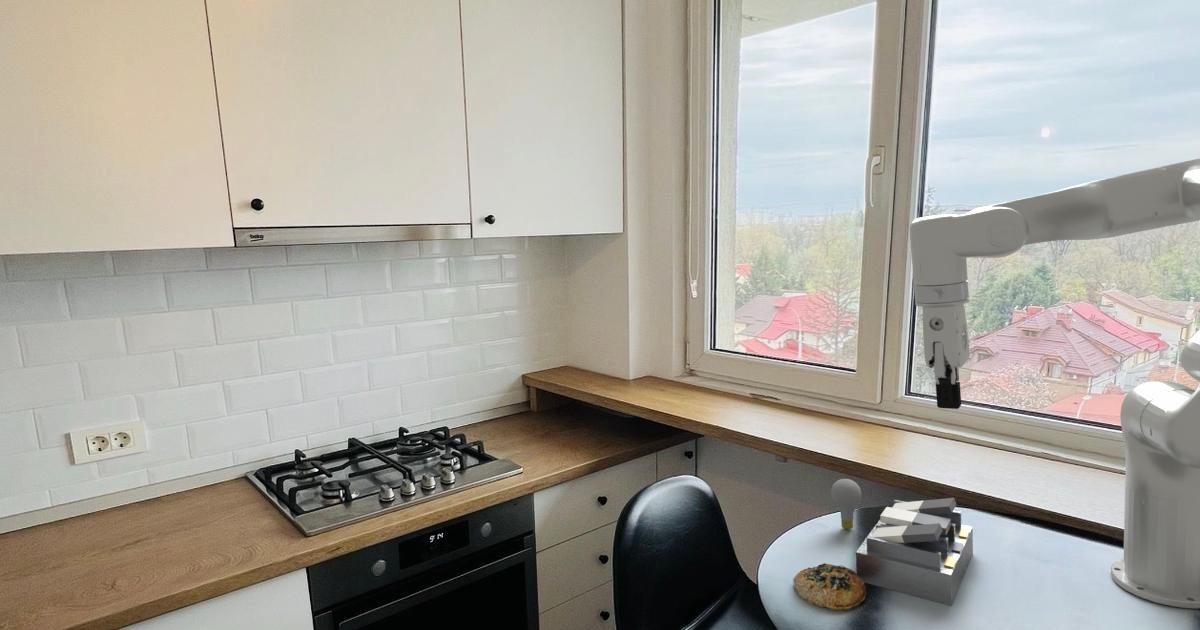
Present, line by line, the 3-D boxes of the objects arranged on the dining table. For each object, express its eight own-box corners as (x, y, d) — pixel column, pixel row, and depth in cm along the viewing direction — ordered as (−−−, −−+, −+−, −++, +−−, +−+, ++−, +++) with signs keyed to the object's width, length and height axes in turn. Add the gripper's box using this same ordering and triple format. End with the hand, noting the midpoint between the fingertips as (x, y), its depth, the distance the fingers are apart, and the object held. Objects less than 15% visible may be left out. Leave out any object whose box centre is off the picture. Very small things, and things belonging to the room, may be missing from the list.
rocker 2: (950, 526, 107) (950, 518, 107) (945, 536, 104) (945, 528, 104) (887, 514, 113) (886, 506, 113) (880, 522, 110) (880, 515, 110)
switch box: (972, 554, 112) (972, 512, 111) (951, 605, 98) (950, 558, 97) (887, 535, 121) (886, 496, 120) (856, 580, 107) (855, 537, 106)
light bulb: (865, 536, 121) (863, 485, 120) (834, 535, 122) (832, 485, 121) (859, 523, 126) (858, 474, 125) (830, 522, 127) (828, 474, 126)
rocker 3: (942, 531, 102) (939, 523, 102) (937, 541, 99) (934, 533, 99) (880, 535, 109) (877, 527, 109) (873, 545, 106) (870, 537, 106)
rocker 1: (956, 505, 111) (954, 497, 111) (952, 514, 108) (949, 506, 108) (897, 510, 117) (895, 503, 117) (891, 518, 114) (889, 511, 114)
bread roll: (862, 575, 108) (860, 549, 107) (871, 623, 98) (869, 595, 97) (793, 573, 111) (790, 548, 110) (794, 619, 101) (792, 592, 100)
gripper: (959, 300, 93) (967, 422, 95) (976, 286, 105) (983, 395, 107) (903, 302, 98) (913, 419, 100) (925, 289, 110) (933, 393, 112)
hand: (949, 406), depth 104 cm, fingers closed
